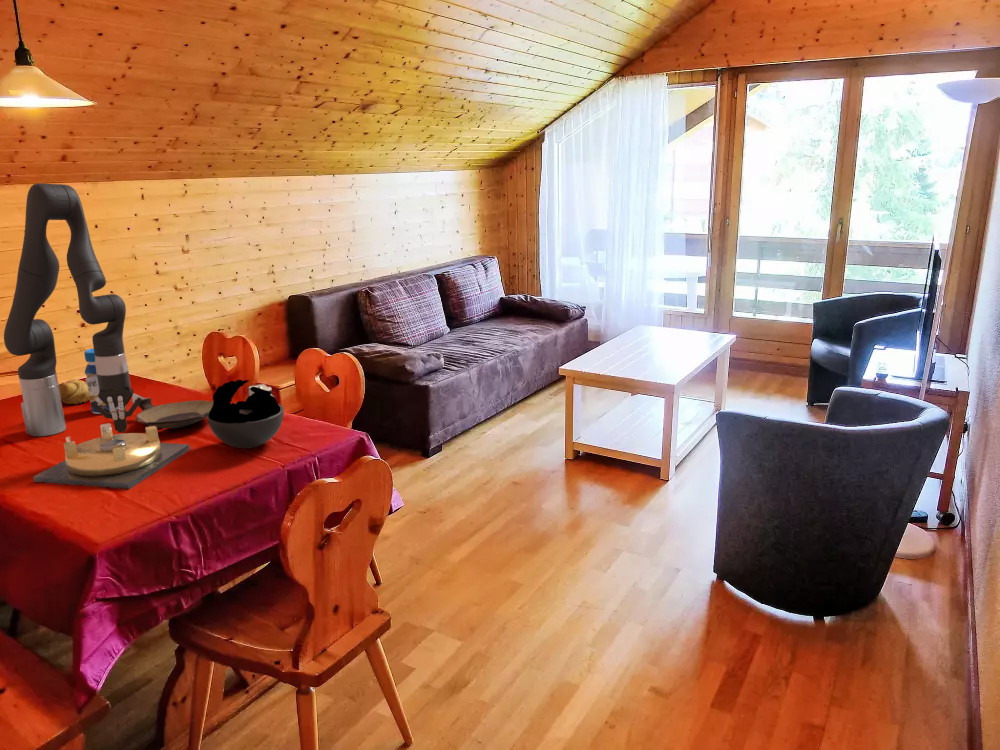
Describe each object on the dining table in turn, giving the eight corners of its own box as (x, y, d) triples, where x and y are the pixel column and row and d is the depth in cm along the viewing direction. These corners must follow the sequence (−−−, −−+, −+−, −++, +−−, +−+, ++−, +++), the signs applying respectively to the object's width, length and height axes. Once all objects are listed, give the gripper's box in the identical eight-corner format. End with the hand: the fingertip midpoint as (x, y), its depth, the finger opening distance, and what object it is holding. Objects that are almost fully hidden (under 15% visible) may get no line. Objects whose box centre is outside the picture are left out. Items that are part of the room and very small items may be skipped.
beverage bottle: (123, 411, 234) (114, 350, 229) (94, 416, 229) (84, 354, 224) (116, 404, 241) (107, 345, 235) (88, 410, 235) (78, 349, 230)
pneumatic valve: (260, 429, 217) (256, 390, 214) (250, 418, 226) (246, 381, 223) (279, 426, 220) (275, 387, 216) (268, 415, 229) (264, 378, 226)
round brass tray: (169, 462, 189) (166, 438, 187) (72, 483, 176) (67, 458, 175) (151, 437, 206) (148, 415, 204) (62, 455, 194) (57, 432, 192)
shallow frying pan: (157, 444, 206) (153, 419, 204) (120, 420, 226) (116, 396, 224) (233, 425, 221) (230, 401, 219) (192, 403, 241) (189, 381, 239)
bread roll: (61, 397, 249) (57, 375, 247) (94, 393, 253) (90, 371, 251) (60, 408, 238) (55, 384, 236) (93, 403, 242) (90, 380, 240)
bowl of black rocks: (211, 438, 210) (204, 375, 205) (283, 429, 217) (278, 368, 211) (210, 464, 192) (202, 395, 187) (289, 453, 198) (283, 387, 193)
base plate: (34, 482, 181) (28, 454, 179) (105, 444, 206) (101, 419, 204) (129, 489, 177) (124, 460, 175) (190, 449, 202) (186, 423, 200)
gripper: (81, 376, 189) (91, 438, 194) (137, 372, 193) (146, 433, 197) (87, 368, 196) (98, 429, 201) (141, 364, 200) (150, 424, 204)
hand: (121, 431), depth 199 cm, fingers closed
